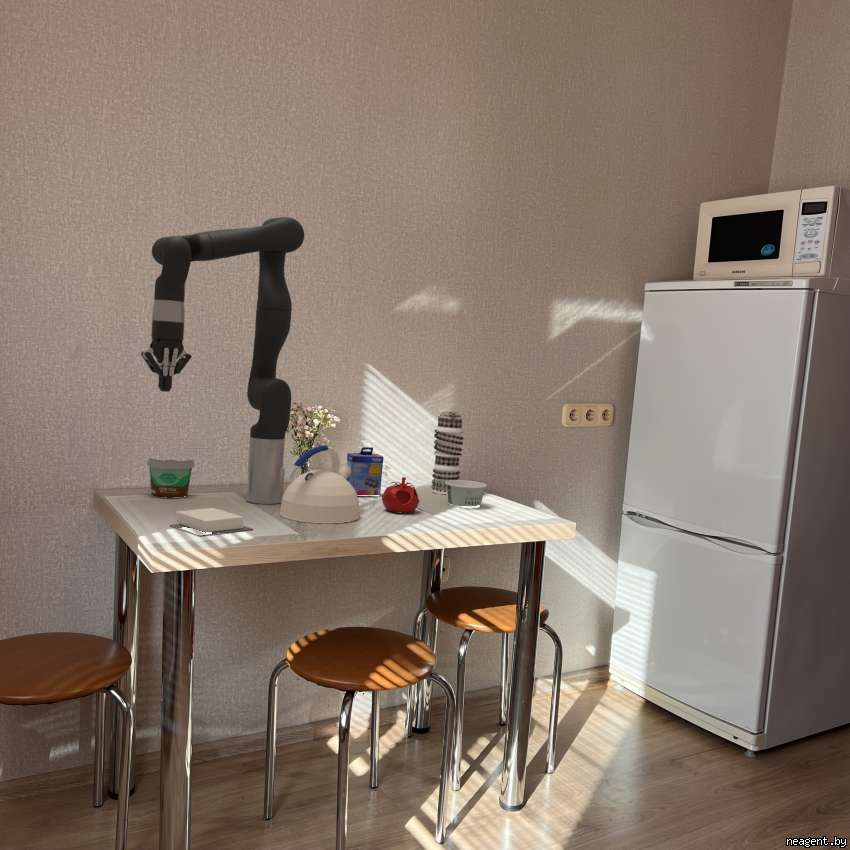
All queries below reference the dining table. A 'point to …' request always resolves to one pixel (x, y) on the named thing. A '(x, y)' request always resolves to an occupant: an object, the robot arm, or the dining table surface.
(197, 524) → the tile
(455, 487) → the food container
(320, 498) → the kettle
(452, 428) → the leaning tower model
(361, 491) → the ink cartridge box
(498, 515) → the dining table surface
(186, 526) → the mat
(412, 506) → the pomegranate
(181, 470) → the food container
